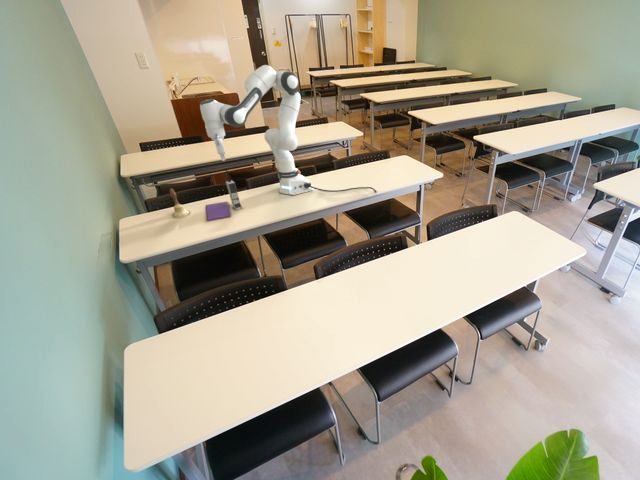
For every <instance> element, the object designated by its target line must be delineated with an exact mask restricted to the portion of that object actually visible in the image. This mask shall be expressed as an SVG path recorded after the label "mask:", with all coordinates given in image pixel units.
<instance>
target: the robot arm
mask: <svg viewBox="0 0 640 480" xmlns="http://www.w3.org/2000/svg"><path fill="white" fill-rule="evenodd" d="M299 86H300V83H299V78H298V76H297V75H296V74H295V73H294V72H292V71H288V70H274V68H272V66H270V65H268V64H263V65H260V66H259V67H258V68H257V69H255V70H254V71H252V73H251V74H250V75H249V76H248V77H247V78H246V79H245V81H244V89H245V91H246V92H247V93H246V94H245V96H244V97H243V98H242V99H241V101H240V102H239V103H238V104H237V105H231V104H226V103H223V102H219V101H217V100H215V99H214V98H208V99H203V100H201V101H200V103H199V110H200V114H201V118H202V120H203V122H204V127H205V131H206V135H207V137H208V138H210V139H211V140H212V141H214V145H215V148H216V152H217V155H219V157H220V158H221V161H222V162H225V161H226V157H225V154H226V150H225V146H224V139H225V136H226V131H225V127H224V124H226V125H229V126H231V127H233V128H237V129H238V128H241V127H243V126H244V125H245V124H246V122H247V119H248V117H249V115H250V113H251V112H252V111H253V110H254V109H255V107H256V106H257V105H258V104H259V103H260V101H261V99H262V98H263V97H264V95H265V94H267V93H268V91H269V90H270V89H273V90H274V91H276V92H281V102H280V105H279V109H278V112H277V117H276V119H277V120H278V123H279V124H278V125H279V126H278V128H269V129H267V130H266V131H265V133H264V140H265V142H266V143H267V144H268V146H269V148H270V151H271V152H272V154H273V156H274V159H275V163H276V164H275V165H276V168H277V171H276V172H277V178H278V180H279V193H281V194H284V195H290V196H295V195H300V194H304V193H308V192H311V191H314V190H316V191H317V190H318V191H320V192H321V191H322V192H327V193H338V192H347V191H351V190H359V189H360V190H361V189H363V190H364V189H365V190H366V189H371V190H373V191H374V193H377V190H376V189H375V188H373V187H371V186H360V187H359V186H358V187H351V188H346V189H337V190H330V189H322V188H319V187H315V186H314V185H313V184H312V183H311V182H310V181H309V179H308V178H307V177H306V176H304V175H302V174H301V173H302V172H301V171H300V170H299V169H298V168H296V165H295V159H294V156H293V155H292V153H291V152H292V151H295V150H296V149H297V148H298V145H299V139H298V138H297V135H296V123H297V119H298V116H299V112H300V108H301V101H302V97H301V94H300V93H299Z"/></svg>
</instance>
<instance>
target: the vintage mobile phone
mask: <svg viewBox="0 0 640 480" xmlns="http://www.w3.org/2000/svg"><path fill="white" fill-rule="evenodd" d="M225 172H226V176H227V179H228V181H225V185H226V188H227V191H228V194H229V197H230V201H231V204H232V207H233V209H234V210H236V211H237V210H240V209H242V208H243V206H242V204H241V202H240V197H239V193H238V189H237V186H236V182H234V180H231V179H230V178H231V177H230V175H229V171H228V168H227V167H225Z"/></svg>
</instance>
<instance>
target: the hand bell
mask: <svg viewBox="0 0 640 480" xmlns="http://www.w3.org/2000/svg"><path fill="white" fill-rule="evenodd" d="M169 195H170V197H171V198H172V200H173V201H174V204H175V205H174V206H173V210H174V212H173V214H172V216H173V217H175V218H182V217H185V216H187V215H188V214H189V212H190V211H189V210H186V208H185V207H184V206H183V204H181V203H179V201H178V198H177V194H176V192H175V190H174V188H169Z"/></svg>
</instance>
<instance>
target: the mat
mask: <svg viewBox="0 0 640 480" xmlns="http://www.w3.org/2000/svg"><path fill="white" fill-rule="evenodd" d="M206 215H207V221H215V220H219V219H220V220H221V219H225V218H231V213H230V208H229V204H228V201H222V202H216V203H215V202H214V203H210V204H206Z"/></svg>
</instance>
